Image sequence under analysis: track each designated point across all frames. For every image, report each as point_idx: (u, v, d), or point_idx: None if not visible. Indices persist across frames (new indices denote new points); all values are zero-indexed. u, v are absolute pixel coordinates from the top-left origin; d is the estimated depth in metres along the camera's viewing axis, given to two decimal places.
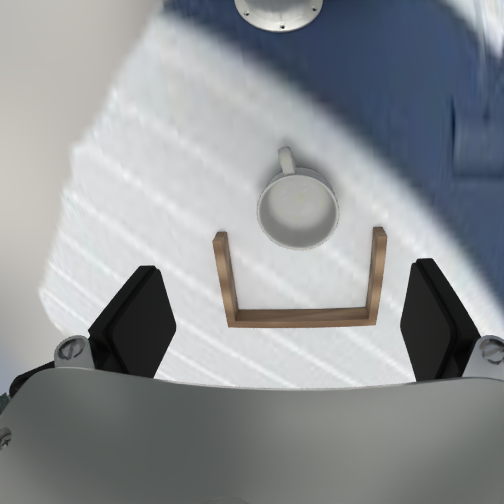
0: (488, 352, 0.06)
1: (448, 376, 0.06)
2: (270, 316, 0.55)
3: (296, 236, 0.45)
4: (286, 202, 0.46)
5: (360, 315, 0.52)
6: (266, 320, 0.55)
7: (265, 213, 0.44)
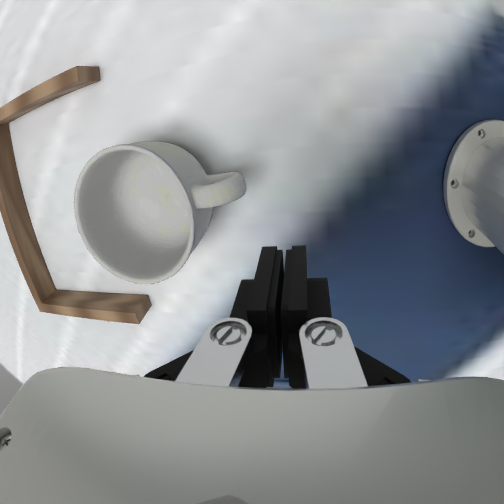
0: (317, 337, 0.07)
1: None
2: (5, 173, 0.27)
3: (100, 203, 0.25)
4: (154, 173, 0.26)
5: (43, 290, 0.34)
6: None
7: (125, 150, 0.22)
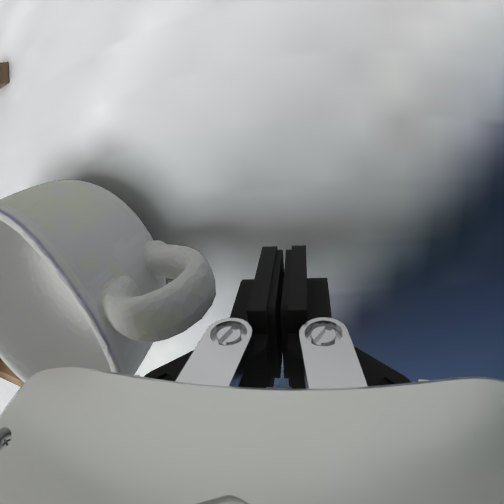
0: (317, 337, 0.07)
1: None
2: None
3: (7, 277, 0.13)
4: None
5: None
6: None
7: None
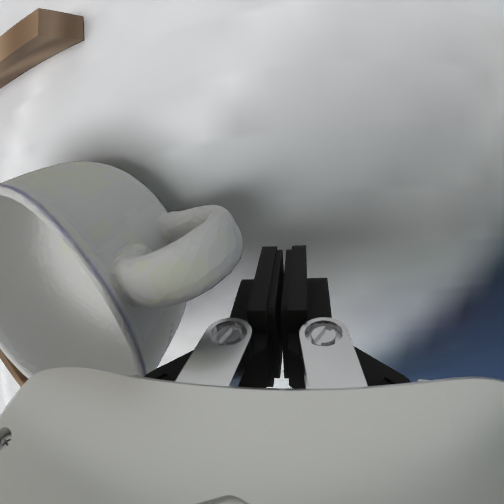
0: (317, 337, 0.07)
1: None
2: None
3: (16, 278, 0.13)
4: None
5: None
6: None
7: None
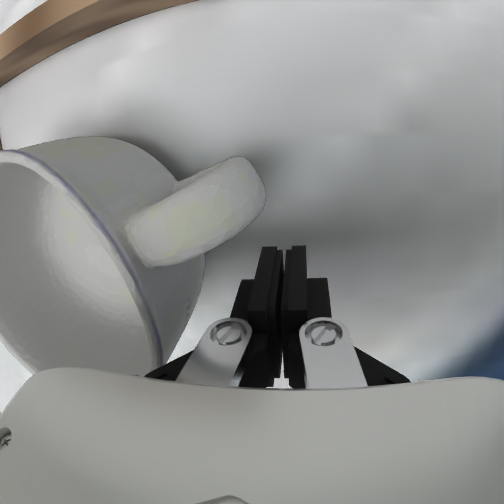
0: (317, 336, 0.07)
1: None
2: None
3: (20, 269, 0.13)
4: None
5: None
6: None
7: (21, 170, 0.10)
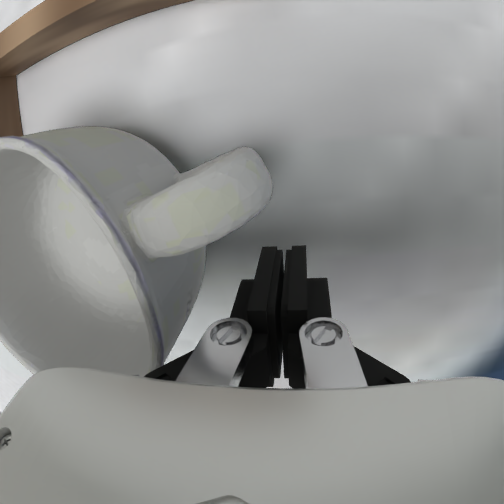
0: (317, 336, 0.07)
1: None
2: None
3: (17, 262, 0.12)
4: None
5: None
6: None
7: (21, 160, 0.09)
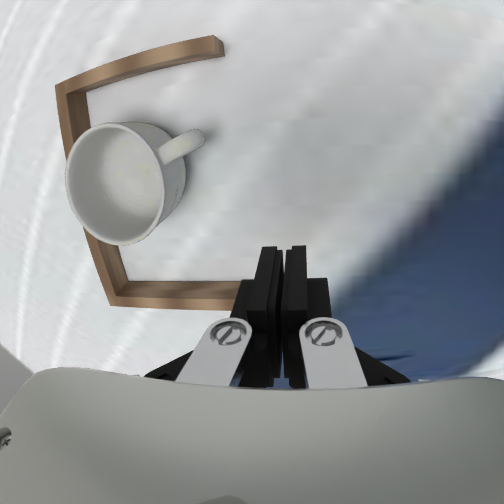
0: (317, 336, 0.07)
1: None
2: None
3: (90, 186, 0.27)
4: (133, 154, 0.29)
5: (116, 281, 0.35)
6: None
7: (103, 134, 0.25)
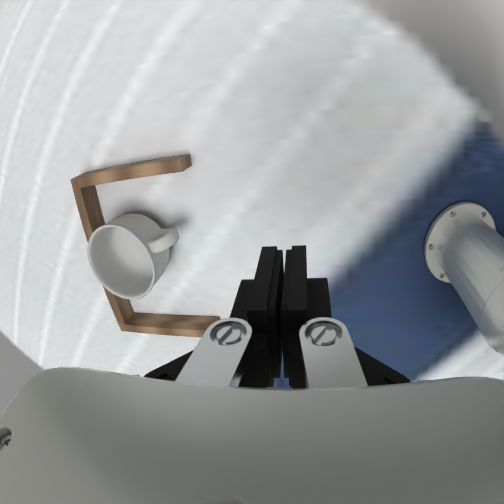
0: (317, 336, 0.07)
1: None
2: (96, 224, 0.42)
3: (104, 255, 0.41)
4: None
5: (125, 314, 0.49)
6: (91, 223, 0.40)
7: None
